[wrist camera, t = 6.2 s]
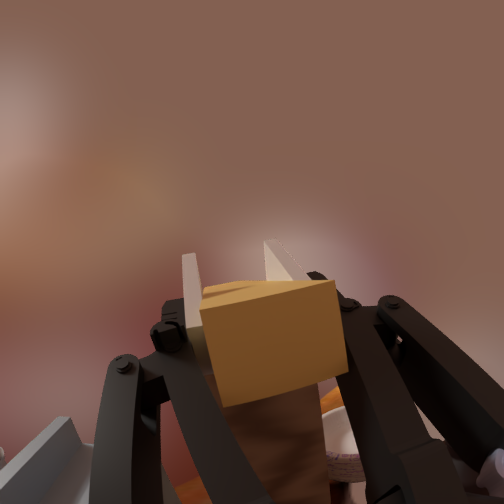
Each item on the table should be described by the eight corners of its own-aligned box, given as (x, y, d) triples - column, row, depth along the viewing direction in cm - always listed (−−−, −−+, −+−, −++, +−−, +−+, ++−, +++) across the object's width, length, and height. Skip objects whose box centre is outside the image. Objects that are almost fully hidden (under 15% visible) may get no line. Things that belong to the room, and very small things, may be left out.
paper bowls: (417, 436, 31) (420, 398, 32) (390, 502, 20) (394, 463, 21) (337, 432, 41) (333, 397, 42) (291, 484, 30) (283, 447, 30)
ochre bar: (223, 407, 7) (199, 310, 7) (209, 313, 31) (204, 287, 31) (348, 371, 8) (334, 279, 8) (244, 306, 31) (239, 280, 32)
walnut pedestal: (261, 568, 14) (180, 348, 16) (243, 499, 27) (191, 319, 30) (333, 547, 15) (307, 321, 17) (297, 486, 29) (263, 305, 31)
